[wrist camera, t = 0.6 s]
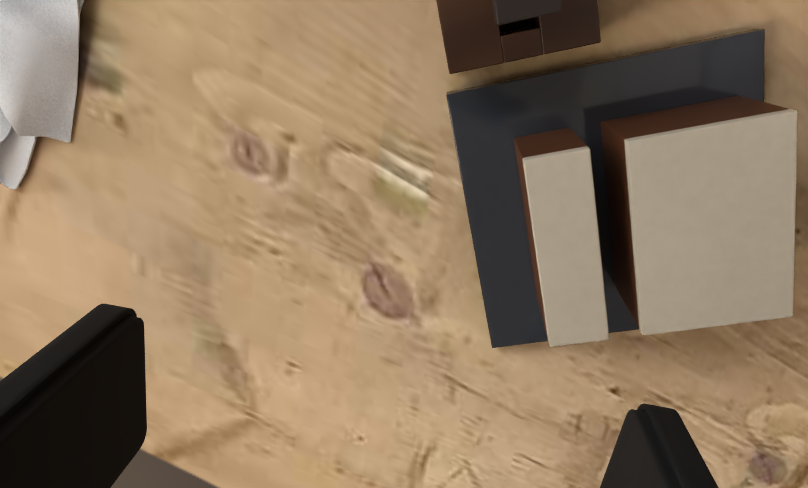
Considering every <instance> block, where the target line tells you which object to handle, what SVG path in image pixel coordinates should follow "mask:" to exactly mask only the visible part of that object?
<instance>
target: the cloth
mask: <svg viewBox="0 0 808 488" xmlns="http://www.w3.org/2000/svg"><path fill="white" fill-rule="evenodd" d="M84 1H85V0H0V183H1V184H2V185H4V186H6V187H8V188H11V189H15V190H16V189H17V188H18V186H19V184H20V183H21V181H22V179H23V177H24V175H25V173H26V172H27V169H28V166H29V163H30V160H31V156H32V153H33V150H34V146H35V143H36V140H37V137H38V136H45V137H49V138H53V139H57V140H60V141H64V142H68V143H70V141H71V134H72V126H73V119H74V111H75V104H76V96H77V89H78V61H79V30H80V12H81V9H82V6H83V4H84Z"/></svg>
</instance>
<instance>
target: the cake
mask: <svg viewBox="0 0 808 488" xmlns="http://www.w3.org/2000/svg"><path fill="white" fill-rule="evenodd" d="M600 124H601V135H602V146H603V157H604V167H605V178H606V189H607V199H608V210H609V221H610V232H611V242H612V253H613V264H614V274H615V285H616V289H617V291H618V292H619V294H620V296H621V298H622V299H623V301H624V303H625V305H626V307H627V308H628V310H629V312H630V314H631V315H632V317H633V319H634V321H635V322H636V324H637V326H638V328H639V330H640V332H641V333H642V335H643V336H644V335H652V334H660V333H668V332H676V331H684V330H691V329H699V328H707V327H715V326H723V325H731V324H739V323H747V322H755V321H762V320H770V319H778V318H786V317H793V301H794V257H795V214H796V170H797V127H798V111H797V110H793V109H788V108H784V107H780V106H777V105H773V104H769V103H765V102H762V101H758V100H754V99H750V98H747V97H743V96H733V97H728V98H723V99H717V100H712V101H707V102H702V103H696V104H691V105H686V106H680V107H675V108H670V109H664V110H659V111H654V112H649V113H643V114H638V115H633V116H627V117H622V118H617V119H611V120H606V121H602V122H601V123H600Z"/></svg>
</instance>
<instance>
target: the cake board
mask: <svg viewBox="0 0 808 488" xmlns="http://www.w3.org/2000/svg"><path fill="white" fill-rule="evenodd" d="M764 41H765V30H764V29H753V30H748V31H743V32H738V33H733V34H728V35H723V36H719V37H714V38H709V39H704V40H699V41H694V42H689V43H685V44H680V45H675V46H670V47H665V48H660V49H655V50H651V51H646V52H641V53H636V54H631V55H626V56H621V57H616V58H612V59H607V60H602V61H597V62H592V63H587V64H582V65H578V66H573V67H568V68H563V69H558V70H553V71H548V72H544V73H539V74H534V75H529V76H524V77H519V78H514V79H510V80H505V81H500V82H495V83H490V84H485V85H480V86H476V87H471V88H466V89H461V90H456V91H451V92H447V95H446V96H447V101H448V107H449V112H450V118H451V123H452V129H453V134H454V140H455V146H456V151H457V157H458V162H459V168H460V173H461V179H462V184H463V190H464V195H465V201H466V206H467V212H468V217H469V223H470V228H471V234H472V239H473V245H474V250H475V256H476V261H477V267H478V273H479V278H480V284H481V289H482V295H483V300H484V306H485V311H486V317H487V322H488V328H489V333H490V339H491V344H492V348H496V347H504V346H512V345H520V344H527V343H535V342H543V341H548V339H547V335H546V331H545V327H544V323H543V319H542V316H541V312H540V308H539V304H538V300H537V295H536V288H535V281H534V274H533V267H532V260H531V253H530V246H529V240H528V233H527V226H526V219H525V212H524V205H523V198H522V192H521V185H520V178H519V171H518V164H517V157H516V150H515V143H514V138H516V137H521V136H526V135H531V134H537V133H542V132H547V131H553V130H558V129H563V128H570V129H571V130H572V131H573V132H574V133H575V134H576V135H577V136H578V137H579V138H580V139H581V140H582V141H583V142H584V143H585V144H586V145H587V146H588V147H589V148H590V152H591V162H592V172H593V182H594V192H595V202H596V212H597V221H598V231H599V241H600V251H601V261H602V271H603V281H604V291H605V301H606V311H607V321H608V331H609V333H613V332H621V331H628V330H636V329H639V328H638V326H637V324H636V322H635V321H634V319H633V317H632V315H631V314H630V312H629V310H628V308H627V307H626V305H625V303H624V301H623V299H622V298H621V296H620V294H619V292H618V291H617V289H616V285H615V274H614V264H613V253H612V242H611V232H610V221H609V210H608V199H607V189H606V178H605V167H604V157H603V146H602V135H601V124H600V123H601V122H602V121H606V120H611V119H617V118H622V117H627V116H633V115H638V114H643V113H649V112H654V111H659V110H664V109H670V108H675V107H680V106H686V105H691V104H696V103H702V102H707V101H712V100H717V99H723V98H728V97H733V96H743V97H747V98H750V99H754V100H758V101H762V102H764Z"/></svg>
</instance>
